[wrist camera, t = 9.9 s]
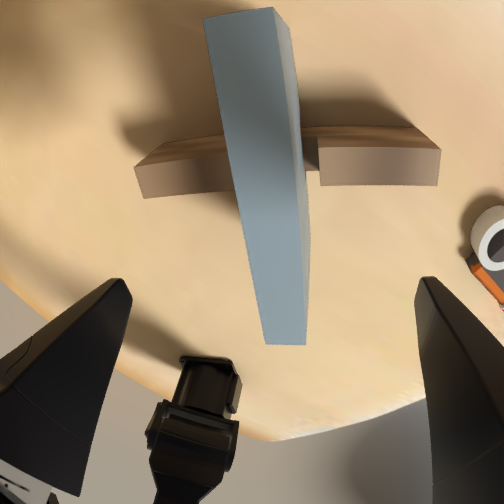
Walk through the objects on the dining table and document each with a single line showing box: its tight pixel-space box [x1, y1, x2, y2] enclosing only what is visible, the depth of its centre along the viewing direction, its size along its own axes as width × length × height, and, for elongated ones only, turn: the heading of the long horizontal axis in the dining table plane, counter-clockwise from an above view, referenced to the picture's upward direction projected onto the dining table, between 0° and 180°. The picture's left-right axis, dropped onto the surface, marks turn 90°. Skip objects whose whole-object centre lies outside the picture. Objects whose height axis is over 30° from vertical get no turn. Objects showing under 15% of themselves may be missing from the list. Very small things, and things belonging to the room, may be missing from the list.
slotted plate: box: [203, 7, 310, 345], centre depth 14 cm, size 14×2×9 cm, turn 9°
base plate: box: [134, 126, 441, 199], centre depth 16 cm, size 16×2×4 cm, turn 98°
